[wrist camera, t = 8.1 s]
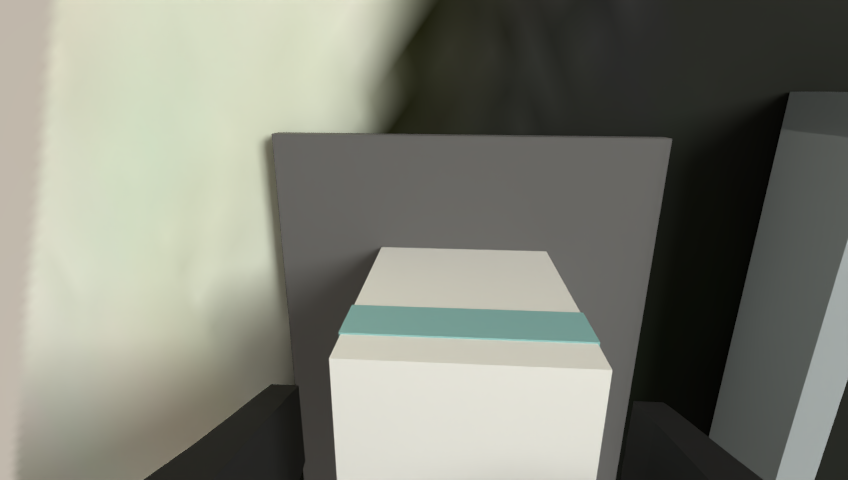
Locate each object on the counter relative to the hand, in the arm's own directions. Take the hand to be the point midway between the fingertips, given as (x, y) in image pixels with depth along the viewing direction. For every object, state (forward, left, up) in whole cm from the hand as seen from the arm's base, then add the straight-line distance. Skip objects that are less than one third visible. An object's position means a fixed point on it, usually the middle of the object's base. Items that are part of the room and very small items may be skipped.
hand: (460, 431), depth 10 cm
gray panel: (0, 0, -3) cm, 3 cm away
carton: (0, 0, -2) cm, 2 cm away
